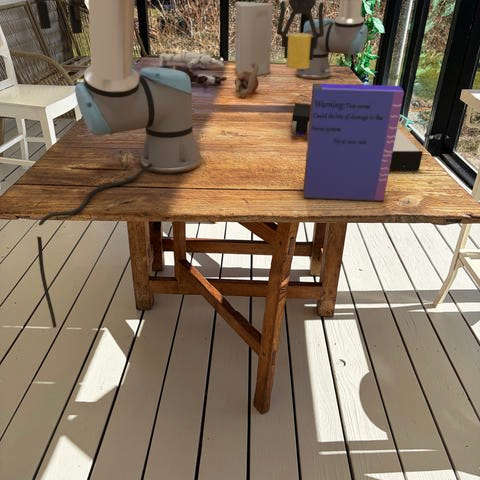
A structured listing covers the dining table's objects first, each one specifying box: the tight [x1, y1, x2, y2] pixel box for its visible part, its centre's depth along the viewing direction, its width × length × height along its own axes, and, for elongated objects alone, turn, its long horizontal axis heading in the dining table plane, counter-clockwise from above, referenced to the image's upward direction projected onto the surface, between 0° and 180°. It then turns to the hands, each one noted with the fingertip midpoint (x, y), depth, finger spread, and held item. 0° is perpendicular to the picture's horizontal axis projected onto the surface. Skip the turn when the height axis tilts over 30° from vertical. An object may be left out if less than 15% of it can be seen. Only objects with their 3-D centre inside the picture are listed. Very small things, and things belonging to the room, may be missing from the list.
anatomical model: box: [234, 63, 260, 99], centre depth 181 cm, size 13×9×15 cm
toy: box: [158, 51, 225, 70], centre depth 222 cm, size 24×25×7 cm
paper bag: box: [234, 1, 274, 77], centre depth 210 cm, size 19×15×28 cm
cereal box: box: [302, 83, 405, 202], centre depth 102 cm, size 17×5×24 cm, turn 86°
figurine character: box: [290, 102, 311, 140], centre depth 143 cm, size 7×8×15 cm
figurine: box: [172, 64, 228, 85], centre depth 193 cm, size 24×8×30 cm
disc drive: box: [389, 127, 424, 172], centre depth 128 cm, size 18×22×5 cm
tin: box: [285, 32, 312, 70], centre depth 157 cm, size 8×8×10 cm
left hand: (61, 31), depth 128 cm, fingers open, 13 cm apart
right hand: (298, 58), depth 159 cm, fingers closed on tin, 8 cm apart
